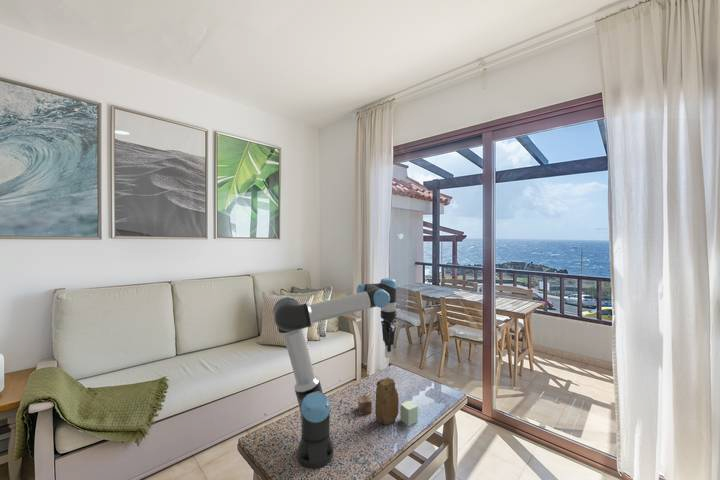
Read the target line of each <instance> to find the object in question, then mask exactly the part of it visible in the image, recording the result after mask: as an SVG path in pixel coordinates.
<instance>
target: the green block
mask: <svg viewBox="0 0 720 480" xmlns="http://www.w3.org/2000/svg"><path fill="white" fill-rule="evenodd" d="M399 405H400V406H399V407H400V409H399V411H400V415H399V416H400V417H399V418H400V419H399V420H400V421H401V422H402V423H404V425H406V426H407V427H410V426H412V424H413V425H415V424H417V423H418V422H419V420H418V418H419V417H418V416H419V413H418V411H419V406H418V405H417V404H415V403H414V402H413V401H411V400H407V401H405V402H402V403H400V404H399ZM414 423H415V424H414Z"/></svg>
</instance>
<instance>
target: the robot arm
mask: <svg viewBox="0 0 720 480" xmlns="http://www.w3.org/2000/svg"><path fill="white" fill-rule="evenodd" d="M396 306H397V282H396V279H394V278H391V277H389V278H386V277H384V278H381V279H380V282H378V283H360V284H358V285H357V287H356V293H353V294H349V295H344V296H339V297H337V298H333V299H328V300H324V301H321V302H315V303H312V304H308V303H307V302H306V303H302V304H300V303H299V302H298V301H297V300H296V299H295V298H294V297H290V296H285V297H281V298H280V299H278V300H277V301H276V303H275V304H274V306H273V309H272V312H273V317H274V318H273V319H274V323H275V324H276V327H277V331H278V333H279V334H281V335H282V336H283V339H284V342H285V347H286V350H287V353H288V357H289V360H290V364H291V367H292V371H293V375H294V378H295V382H296V383H295V385H294V392H295V396H296V399H297V404H298V409H299V413H300V418H301V419H300V420H301V422H300V423H301V437H300V441H299V444H298V447H297V451H296V460H297V461H298V463H299V464H300V465H301V466H302V467H304V468H308V469H309V468H310V469H318V468H321V467H324V466H326V465H328V463H330V462H331V461H332V459H333V458H334V453H335V452H334V450H335V449H334V444H333V441H332V437H331V435H330V427H331V426H330V420H331V419H330V416H331V415H330V413H331V404H330V399H329V397H328V396H327V395H326V394H325V393H324V392H323V389H322V384H321V381H320V378H319V377H318V376H316V375H315V372H314V368H313V365H312V360H311V357H310V353H309V349H308V345H307V340H306V338H305V335H304V331H303V329H307V328H310V327H313V325H314V324H315V323H319V322H322V321H327V320H331V319H334V318H338V317H341V316H345V315H349V314H352V313H357V312H360V311H363V310H369V309H372V308H376V307H377V308H380V318H381V319H382V320H381V321H380V323H381V332H382V341H383V342H384V358H385V359H391V358H392V346H394V344H395V343H394V342H395V332H396V330H397V328H396V327H395V326H394V320H395V319H396V318H397V311H396V309H397V308H396Z"/></svg>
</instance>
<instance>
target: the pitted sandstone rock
mask: <svg viewBox="0 0 720 480" xmlns="http://www.w3.org/2000/svg"><path fill="white" fill-rule="evenodd" d="M375 389H376V390H375V406H374V407H375V409H374V411H375V418H376V420H377V421H378V422H379V424H382V425H391V424H392V423H393V422H395V421H396V419H397V417H398V415H399V410H400V409H399V407H400V406H399V405H400V404H399V403H400V402H399V401H400V400H399V399H400V398H399V392H398V390H397V388H396V381H395V380H394V379H393V378H391V377H386V378H381V379H378V381H377V382H376V388H375Z"/></svg>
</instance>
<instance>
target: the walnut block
mask: <svg viewBox="0 0 720 480" xmlns="http://www.w3.org/2000/svg"><path fill="white" fill-rule="evenodd" d="M372 403H373V402H372V399H371V395H362V396H361V395H360V396H359V395H358V403H357V404H358V412H359V415H363V414H365V415H366V414H372V409H373V408H372V406H373V405H372Z"/></svg>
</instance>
